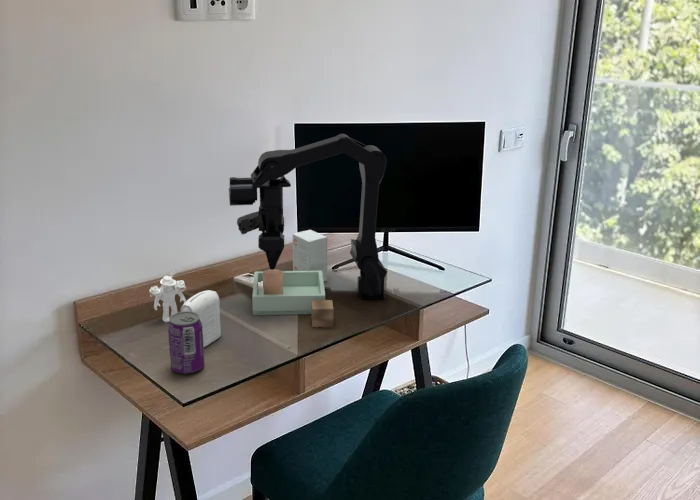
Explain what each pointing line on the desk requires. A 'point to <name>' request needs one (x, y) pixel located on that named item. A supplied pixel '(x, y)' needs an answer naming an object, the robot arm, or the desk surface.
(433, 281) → the desk surface
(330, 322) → the walnut block
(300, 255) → the small box
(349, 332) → the desk surface
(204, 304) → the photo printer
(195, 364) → the beverage can
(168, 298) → the flower shoulder figurine
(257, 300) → the tote
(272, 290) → the terracotta cylinder
